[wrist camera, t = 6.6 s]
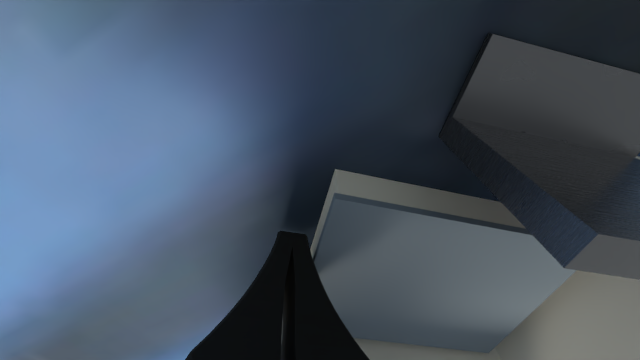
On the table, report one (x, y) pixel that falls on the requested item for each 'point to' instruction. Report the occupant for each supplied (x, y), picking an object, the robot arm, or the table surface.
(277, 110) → the table surface
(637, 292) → the cream corner tray
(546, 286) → the book
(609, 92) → the bookend
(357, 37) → the table surface
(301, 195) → the table surface
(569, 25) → the table surface
